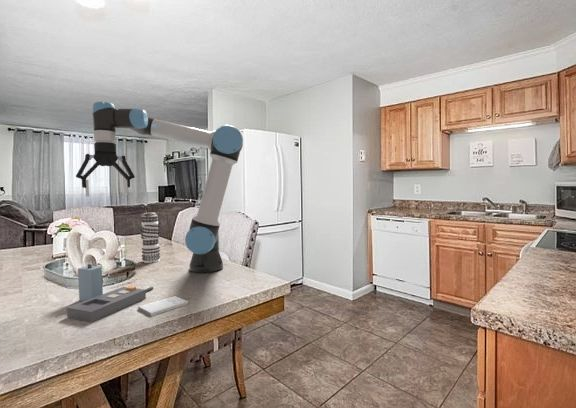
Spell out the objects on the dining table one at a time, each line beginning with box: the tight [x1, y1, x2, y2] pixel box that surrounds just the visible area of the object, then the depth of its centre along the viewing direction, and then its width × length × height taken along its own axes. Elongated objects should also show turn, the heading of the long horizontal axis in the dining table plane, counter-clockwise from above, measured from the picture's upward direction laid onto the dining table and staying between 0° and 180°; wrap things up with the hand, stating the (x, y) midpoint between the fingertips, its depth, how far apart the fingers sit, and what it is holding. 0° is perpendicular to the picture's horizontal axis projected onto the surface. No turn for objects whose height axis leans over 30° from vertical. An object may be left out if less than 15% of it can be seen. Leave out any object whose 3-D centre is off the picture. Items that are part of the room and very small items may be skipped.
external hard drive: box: [137, 295, 189, 317], centre depth 100 cm, size 2×8×12 cm
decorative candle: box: [139, 211, 161, 264], centre depth 161 cm, size 9×9×25 cm
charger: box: [77, 263, 104, 302], centre depth 107 cm, size 4×6×12 cm, turn 70°
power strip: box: [66, 285, 154, 323], centre depth 104 cm, size 28×10×4 cm, turn 160°
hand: (107, 196), depth 126 cm, fingers open, 13 cm apart
